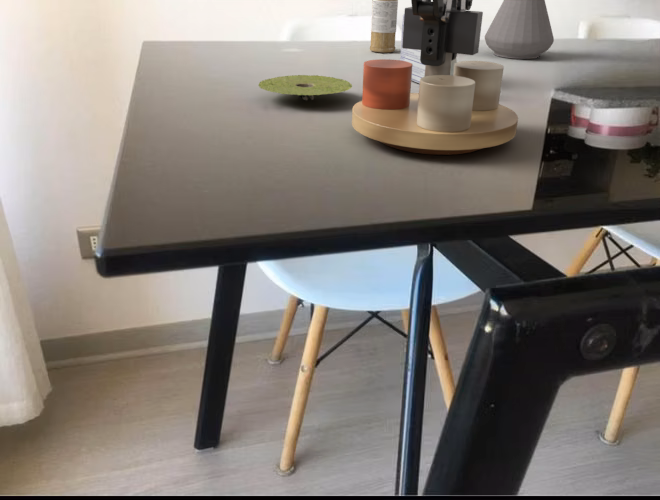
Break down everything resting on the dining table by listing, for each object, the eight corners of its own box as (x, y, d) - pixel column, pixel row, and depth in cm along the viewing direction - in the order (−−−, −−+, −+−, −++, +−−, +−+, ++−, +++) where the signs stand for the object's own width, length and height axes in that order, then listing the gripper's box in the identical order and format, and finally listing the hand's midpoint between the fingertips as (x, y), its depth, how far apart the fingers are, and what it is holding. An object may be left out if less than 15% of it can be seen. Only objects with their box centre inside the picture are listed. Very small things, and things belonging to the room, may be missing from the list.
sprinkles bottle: (381, 48, 113) (385, -34, 107) (400, 51, 111) (406, -33, 105) (363, 50, 111) (367, -33, 105) (383, 54, 108) (387, -32, 102)
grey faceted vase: (475, 57, 106) (487, -41, 100) (490, 48, 116) (501, -42, 109) (611, 69, 98) (633, -36, 92) (614, 58, 108) (635, -38, 101)
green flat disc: (361, 93, 80) (362, 78, 79) (337, 114, 70) (337, 97, 69) (278, 87, 83) (278, 72, 82) (244, 106, 73) (243, 89, 72)
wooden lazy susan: (533, 119, 65) (551, 8, 60) (488, 161, 53) (506, 25, 48) (392, 100, 72) (398, -2, 67) (322, 132, 59) (323, 11, 55)
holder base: (501, 133, 65) (502, 123, 64) (467, 162, 56) (468, 151, 56) (402, 118, 69) (403, 109, 69) (357, 142, 61) (357, 132, 60)
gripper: (476, -168, 45) (451, 79, 52) (524, -146, 56) (498, 56, 63) (380, -163, 48) (370, 69, 56) (444, -143, 59) (428, 49, 67)
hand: (438, 61), depth 60 cm, fingers closed
